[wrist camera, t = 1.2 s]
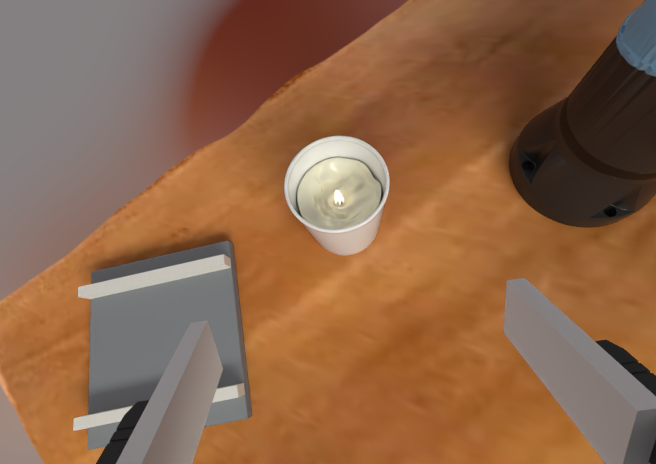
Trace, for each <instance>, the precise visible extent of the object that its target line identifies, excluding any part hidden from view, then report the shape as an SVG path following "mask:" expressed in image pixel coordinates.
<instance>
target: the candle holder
mask: <svg viewBox="0 0 656 464" xmlns="http://www.w3.org/2000/svg"><path fill="white" fill-rule="evenodd" d="M389 185H390V179H389V172H388V169H387V166H386V163H385V161H384V160H383V158H382V157H381V155H380V154H379V153H378V152H377V151H376V150H375V149H374V148H373V147H372V146H371V145H369V144H367V143H366V142H364V141H362V140H359V139H357V138H353V137H348V136H330V137H325V138H322V139H319V140H317V141H314V142H312V143H311V144H309V145H307V146H306V147H304V148H303V149H302V150H301V151H300V152H299V153H298V154H297V155H296V156H295V157H294V159H293V160H292V162H291V163H290V165H289V167H288V170H287V172H286V176H285V181H284V192H285V198H286V201H287V204H288V206H289V208H290V210H291V211H292V213H293V214H294V215H295V216H296V218H297V219H298V220H299V221H301V223H302V224H303V225H304V226H305V227H306V229H307V230H308V231H309V232H310V234H311V235H312V236H313V237H314V238H315V240H316V241H317V242H318V243H319V244H320V245H321V246H322V247H323V248H324V249H326V250H327V251H329V252H331V253H334V254H338V255H352V254H356V253H359V252H361V251H363V250H364V249H366V248H367V247H368V246H369V245H370V244H371V243H372V242H373V240H374V239H375V237H376V235H377V233H378V230H379V226H380V222H381V218H382V214H383V210H384V206H385V201H386V199H387V196H388V192H389Z"/></svg>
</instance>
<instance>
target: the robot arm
mask: <svg viewBox="0 0 656 464" xmlns="http://www.w3.org/2000/svg"><path fill="white" fill-rule="evenodd" d="M510 172H511V176H512V179H513V182H514V184H515V186H516V188H517V190H518V192H519V193H520V194H521V196H522V197H523V198H524V199H525V201H526V202H527V203H528V204H529V205H530V206H532V207H533V208H534V209H535V210H537V211H538V212H539V213H541V214H543V215H544V216H546V217H548V218H550V219H552V220H554V221H557V222H559V223H563V224H566V225H570V226H576V227H600V226H605V225H609V224H612V223H615V222H618V221H620V220H622V219H624V218H626V217H628V216H630V215H632V214H633V213H635V212H637V211H638V210H640V209H641V208H642V207H644V206H645V205H646V204H647V203H648V202H649V201H650V200H651V199H652V198H653V196H654V195H655V194H656V0H645V1H644V2H643V3H642V4H641V5H640V6H639V7H638V8H637V9H635V10H634V11H633V12H632V13H631V14H630V15H629V16H628V17H627V18H626V19H625V21H624V22H623V24H622V25H621V27H620V28H619V32H618V34H617V36H616V37H615V39H614V40H613V41H612V42H611V44H610V45H609V46H608V48H607V49H606V50H605V51H604V53H603V54H602V55H601V56H600V58H599V59H598V60H597V61H596V63H595V64H594V65H593V66H592V68H591V69H590V70H589V71H588V72H587V74H586V75H585V76H584V77H583V79H582V80H581V81H580V82H579V84H578V85H577V86H576V87H575V89H574V90H573V91H572V93H571V94H570V95H569V96H568V97H567V98H565V99H563V100H562V101H560V102H558V103H557V104H555V105H553V106H552V107H550V108H548V109H547V110H545V111H543V112H542V113H540V114H539V115H537V116H536V117H535V118H533V119H532V120H531V121H530V122H529V123H528V124H527V125H526V127H525V128H524V129H523V130H522V132H521V133H520V135H519V136H518V138H517V139H516V141H515V143H514V145H513V147H512V150H511V154H510ZM503 332H504V333H505V335H506V336H507V337H508V339H509V340H510V341H511V342H512V344H513V345H514V346H515V348H516V349H517V350H518V352H519V353H520V354H521V355H522V357H523V358H524V359H525V361H526V362H527V363H528V364H529V366H530V367H531V368H532V370H533V371H534V372H535V374H536V375H537V376H538V377H539V379H540V380H541V381H542V383H543V384H544V385H545V386H546V388H547V389H548V390H549V392H550V393H551V394H552V395H553V397H554V398H555V399H556V401H557V402H558V403H559V405H560V406H561V407H562V408H563V410H564V411H565V412H566V414H567V415H568V416H569V417H570V419H571V420H572V421H573V423H574V424H575V425H576V426H577V428H578V429H579V430H580V432H581V433H582V434H583V436H584V437H585V438H586V439H587V441H588V442H589V443H590V445H591V446H592V447H593V448H594V450H595V451H596V452H597V454H598V455H599V456H600V457H601V459H602V460H603V461H604V463H605V464H649V463H651V464H656V376H655V375H654V374H653V373H650V371H649V370H648V369H647V368H646V367H645V366H643V365H642V364H641V363H638V360H636V359H635V358H634V357H633V356H632V355H630V354H629V353H628V352H627V351H626V350H625V349H623V348H621V347H619V346H617V345H615V344H613V343H611V342H609V341H607V340H601V341H594V340H593V339H592V338H591V337H589V336H588V335H587V334H586V333H585V332H584V331H583V330H582V329H581V328H579V327H578V326H577V325H576V324H575V323H574V322H573V321H572V320H571V319H570V318H568V317H567V316H566V315H565V314H564V313H563V312H562V311H561V310H560V309H558V308H557V307H556V306H555V305H554V304H553V303H552V302H551V301H550V300H548V299H547V298H546V297H545V296H544V295H543V294H542V293H541V292H540V291H539V290H537V289H536V288H535V287H534V286H533V285H532V284H531V283H530V282H529V281H527V280H526V279H525V278H521V279H514V280H507V287H506V301H505V316H504V330H503ZM222 371H223V367H222V364H221V360H220V357H219V354H218V351H217V348H216V345H215V342H214V339H213V335H212V332H211V329H210V326H209V323H208V320H207V321H199V322H192V323H190V325H189V326H188V328H187V330H186V332H185V334H184V336H183V338H182V340H181V342H180V343H179V345H178V347H177V349H176V351H175V353H174V355H173V357H172V359H171V360H170V362H169V364H168V366H167V368H166V370H165V372H164V374H163V376H162V377H161V379H160V381H159V383H158V385H157V387H156V389H155V391H154V393H153V394H152V396H151V398H150V400H146V401H139V402H137V403H136V404H135V405H134V406H133V407H132V408H131V409H130V410H129V411H128V412H127V413H126V414H125V415H124V416H123V418H122V420H121V422H120V423H119V425H118V427H117V429H116V432H114V434H113V435H112V437H111V439H110V442H109V444H107V446H106V447H105V449H104V451H103V453H102V454H101V456H100V458H99V459H98V461H97V463H96V464H192V463H193V460H194V456H195V453H196V450H197V447H198V444H199V441H200V438H201V435H202V432H203V429H204V426H205V423H206V420H207V417H208V414H209V411H210V407H211V404H212V401H213V398H214V395H215V392H216V389H217V386H218V383H219V380H220V377H221V374H222Z"/></svg>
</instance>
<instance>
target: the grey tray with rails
mask: <svg viewBox="0 0 656 464" xmlns="http://www.w3.org/2000/svg"><path fill="white" fill-rule="evenodd" d="M78 297H81V298H87V299H91V322H90V364H89V406H88V415H85V416H81V417H77V418H74V427H73V431H75V430H80V429H85V428H88V449H87V450H91V449H96V448H101V447H106V446H107V444H109V442H110V439H111V437H112V435H113V434H114V432H116V429H117V427H118V425H119V423H120V422H121V420H122V418H123V416H124V415H125V414H126V413H127V412H128V411H129V410H130V409H131V408H132V407H133V406H134V405H135V404H136V403H137V402H139V401H146V400H150V398H151V396H152V394H153V393H154V391H155V389H156V387H157V385H158V383H159V381H160V379H161V377H162V376H163V374H164V372H165V370H166V368H167V366H168V364H169V362H170V360H171V359H172V357H173V355H174V353H175V351H176V349H177V347H178V345H179V343H180V342H181V340H182V338H183V336H184V334H185V332H186V330H187V328H188V326H189V325H190V323H192V322H199V321H207V320H208V323H209V326H210V329H211V332H212V335H213V339H214V342H215V345H216V348H217V351H218V354H219V357H220V360H221V364H222V367H223V371H222V374H221V377H220V380H219V383H218V386H217V389H216V392H215V395H214V398H213V401H212V404H211V407H210V411H209V414H208V417H207V420H206V423H205V426H204V427H207V426H212V425H217V424H222V423H227V422H232V421H237V420H242V419H247V418H249V417H251V416H252V409H251V400H250V391H249V382H248V373H247V364H246V355H245V347H244V338H243V329H242V320H241V311H240V302H239V293H238V284H237V275H236V266H235V258H234V249H233V243H231V242H230V241H224V242H219V243H215V244H210V245H206V246H202V247H197V248H193V249H189V250H184V251H180V252H175V253H171V254H167V255H162V256H158V257H154V258H149V259H145V260H141V261H136V262H132V263H127V264H123V265H119V266H114V267H110V268H106V269H101V270H97V271H92V280H91V284H90V285H86V286H81V287H78Z"/></svg>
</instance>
